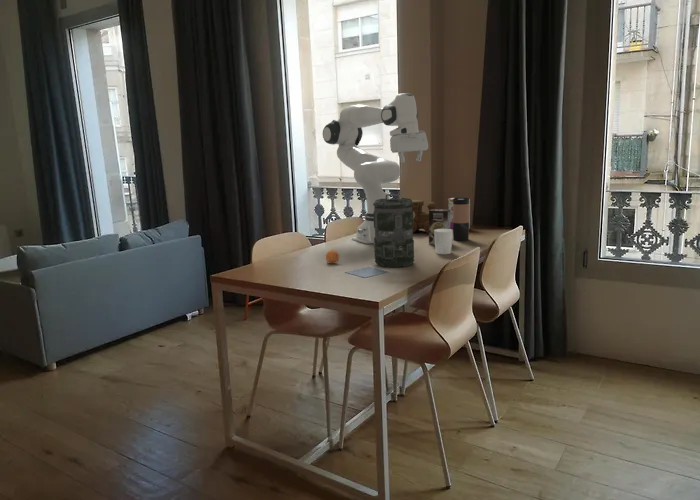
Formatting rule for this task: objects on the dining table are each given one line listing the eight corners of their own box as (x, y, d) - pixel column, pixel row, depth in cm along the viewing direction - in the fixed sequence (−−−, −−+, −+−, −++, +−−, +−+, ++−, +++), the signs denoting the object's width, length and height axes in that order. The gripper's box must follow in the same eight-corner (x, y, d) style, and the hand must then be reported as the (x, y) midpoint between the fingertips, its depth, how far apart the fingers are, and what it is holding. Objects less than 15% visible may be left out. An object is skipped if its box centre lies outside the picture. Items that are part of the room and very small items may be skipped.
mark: (344, 272, 204) (344, 271, 204) (368, 267, 211) (368, 266, 211) (364, 278, 195) (364, 277, 195) (389, 272, 202) (389, 271, 202)
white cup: (452, 254, 227) (452, 231, 225) (433, 254, 229) (433, 231, 227) (452, 251, 235) (452, 228, 233) (434, 251, 236) (434, 228, 234)
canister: (422, 262, 215) (421, 193, 210) (397, 270, 204) (395, 197, 199) (392, 257, 226) (390, 191, 221) (366, 264, 215) (364, 195, 210)
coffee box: (428, 244, 250) (428, 210, 247) (431, 242, 256) (431, 208, 253) (447, 245, 247) (447, 210, 244) (450, 242, 253) (450, 208, 250)
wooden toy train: (400, 233, 284) (400, 202, 280) (407, 229, 294) (407, 199, 291) (437, 234, 276) (437, 202, 272) (443, 230, 286) (443, 199, 282)
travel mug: (469, 238, 261) (470, 197, 257) (468, 241, 254) (468, 199, 250) (454, 238, 264) (454, 197, 260) (451, 240, 257) (451, 199, 253)
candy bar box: (447, 228, 291) (447, 198, 288) (452, 227, 295) (452, 197, 291) (465, 230, 284) (465, 199, 280) (470, 229, 287) (470, 198, 284)
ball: (323, 263, 221) (322, 250, 219) (334, 261, 224) (333, 248, 223) (331, 265, 216) (330, 252, 215) (341, 263, 220) (341, 250, 219)
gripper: (420, 130, 245) (422, 161, 247) (386, 132, 233) (389, 164, 235) (430, 128, 240) (432, 159, 242) (396, 130, 228) (399, 162, 230)
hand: (411, 161), depth 238 cm, fingers open, 8 cm apart
